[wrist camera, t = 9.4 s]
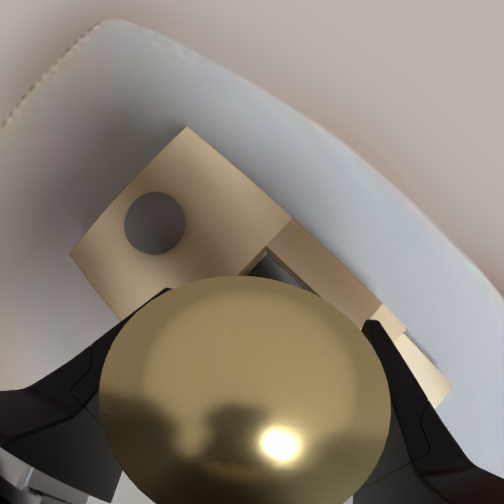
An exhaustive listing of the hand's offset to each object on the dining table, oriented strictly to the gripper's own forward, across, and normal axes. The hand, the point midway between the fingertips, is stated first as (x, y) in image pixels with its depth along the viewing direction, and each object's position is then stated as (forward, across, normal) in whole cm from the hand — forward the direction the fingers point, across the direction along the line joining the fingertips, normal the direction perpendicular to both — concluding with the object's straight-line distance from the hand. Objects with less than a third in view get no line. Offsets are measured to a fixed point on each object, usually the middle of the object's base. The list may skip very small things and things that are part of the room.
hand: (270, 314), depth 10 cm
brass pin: (+5, 0, +7) cm, 8 cm away
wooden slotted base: (+5, 0, +7) cm, 8 cm away
